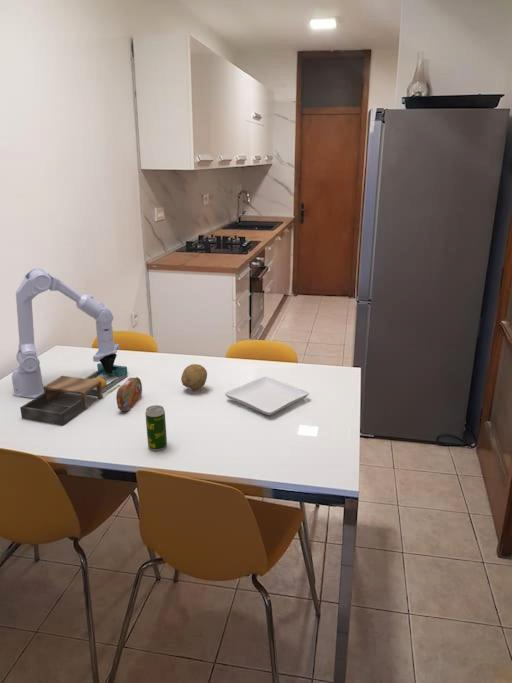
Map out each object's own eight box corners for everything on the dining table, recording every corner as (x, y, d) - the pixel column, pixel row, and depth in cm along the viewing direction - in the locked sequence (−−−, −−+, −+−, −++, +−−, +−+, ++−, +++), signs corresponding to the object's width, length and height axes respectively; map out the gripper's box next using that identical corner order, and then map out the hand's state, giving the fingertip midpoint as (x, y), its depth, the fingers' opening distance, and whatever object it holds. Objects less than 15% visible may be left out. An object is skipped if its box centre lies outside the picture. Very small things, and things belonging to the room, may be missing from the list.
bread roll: (109, 389, 191) (108, 379, 190) (83, 395, 187) (82, 384, 186) (103, 381, 198) (102, 372, 197) (78, 386, 194) (77, 376, 192)
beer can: (158, 440, 156) (156, 403, 152) (171, 446, 153) (168, 408, 149) (144, 447, 152) (141, 409, 148) (156, 453, 149) (153, 415, 145)
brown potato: (186, 397, 184) (184, 371, 181) (178, 388, 192) (177, 362, 188) (210, 393, 187) (210, 366, 184) (202, 384, 195) (201, 358, 192)
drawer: (69, 391, 189) (68, 381, 188) (99, 372, 206) (98, 363, 205) (99, 395, 185) (98, 385, 184) (127, 375, 202) (126, 366, 201)
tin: (125, 415, 172) (122, 391, 169) (116, 414, 172) (113, 390, 169) (143, 396, 186) (141, 373, 183) (135, 395, 186) (133, 373, 183)
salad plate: (310, 400, 182) (311, 391, 181) (269, 422, 167) (269, 412, 166) (265, 383, 196) (265, 375, 195) (223, 402, 181) (222, 393, 180)
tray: (20, 418, 170) (17, 400, 168) (82, 380, 199) (80, 364, 197) (64, 425, 165) (61, 407, 163) (120, 385, 194) (118, 369, 192)
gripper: (103, 346, 189) (107, 381, 193) (125, 334, 202) (128, 367, 206) (86, 344, 191) (90, 379, 195) (109, 332, 204) (112, 365, 208)
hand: (108, 373), depth 201 cm, fingers closed
